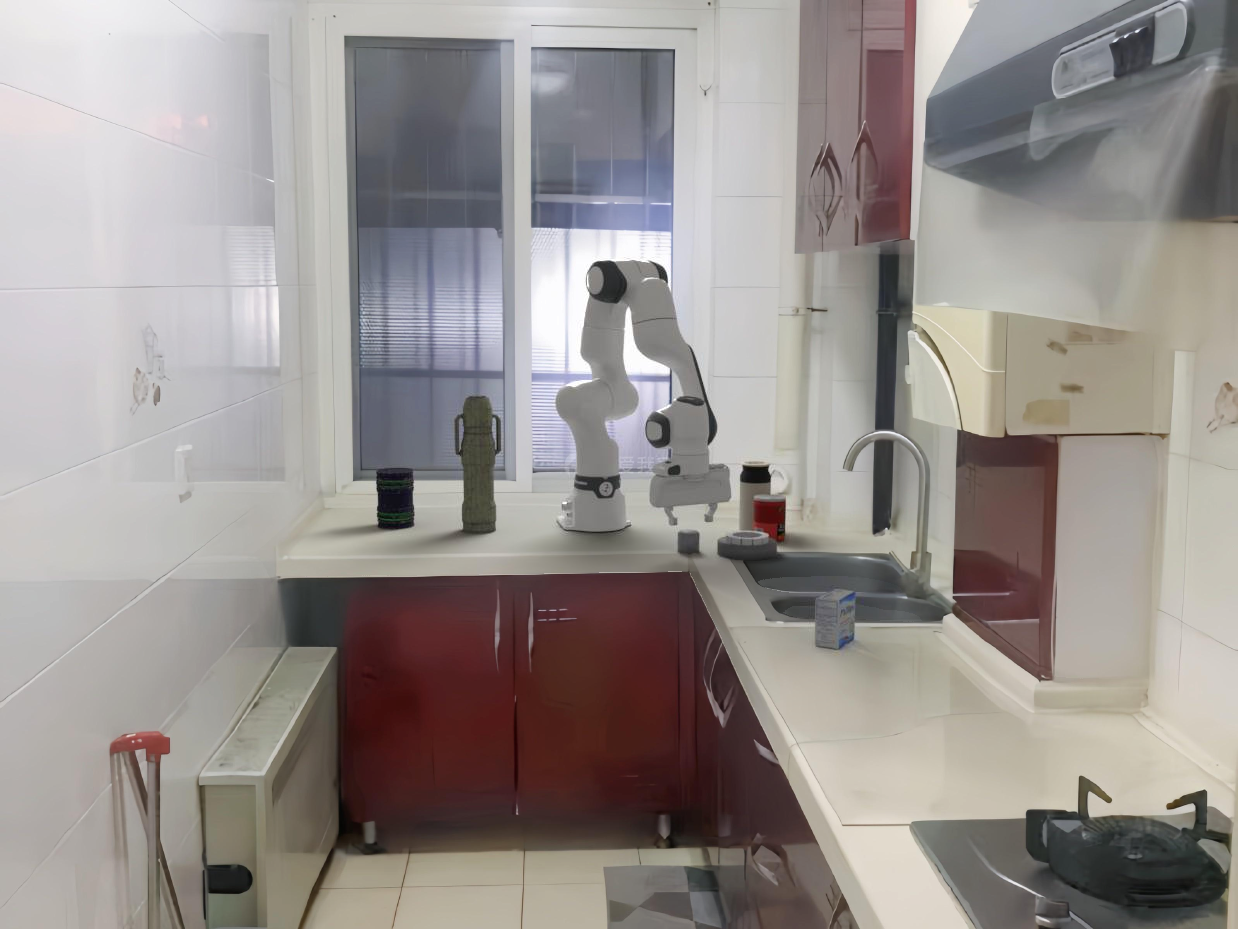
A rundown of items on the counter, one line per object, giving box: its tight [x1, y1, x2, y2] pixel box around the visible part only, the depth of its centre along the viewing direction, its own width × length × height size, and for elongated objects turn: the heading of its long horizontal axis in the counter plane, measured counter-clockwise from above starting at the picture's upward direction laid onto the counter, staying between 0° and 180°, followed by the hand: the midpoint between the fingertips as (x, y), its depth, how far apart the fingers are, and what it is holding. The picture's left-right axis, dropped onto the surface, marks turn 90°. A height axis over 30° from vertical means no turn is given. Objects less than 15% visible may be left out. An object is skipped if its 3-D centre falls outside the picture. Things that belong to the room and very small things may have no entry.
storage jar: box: [375, 467, 415, 530], centre depth 299 cm, size 10×10×15 cm
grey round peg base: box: [716, 530, 778, 561], centre depth 267 cm, size 14×14×4 cm
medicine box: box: [814, 588, 856, 651], centre depth 195 cm, size 8×4×9 cm, turn 148°
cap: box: [677, 529, 701, 555], centre depth 268 cm, size 5×5×5 cm
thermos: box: [454, 395, 502, 534], centre depth 292 cm, size 9×12×35 cm
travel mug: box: [738, 460, 772, 531], centre depth 292 cm, size 8×8×18 cm
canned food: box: [753, 493, 787, 543], centre depth 282 cm, size 8×8×11 cm
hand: (691, 523), depth 267 cm, fingers open, 8 cm apart
